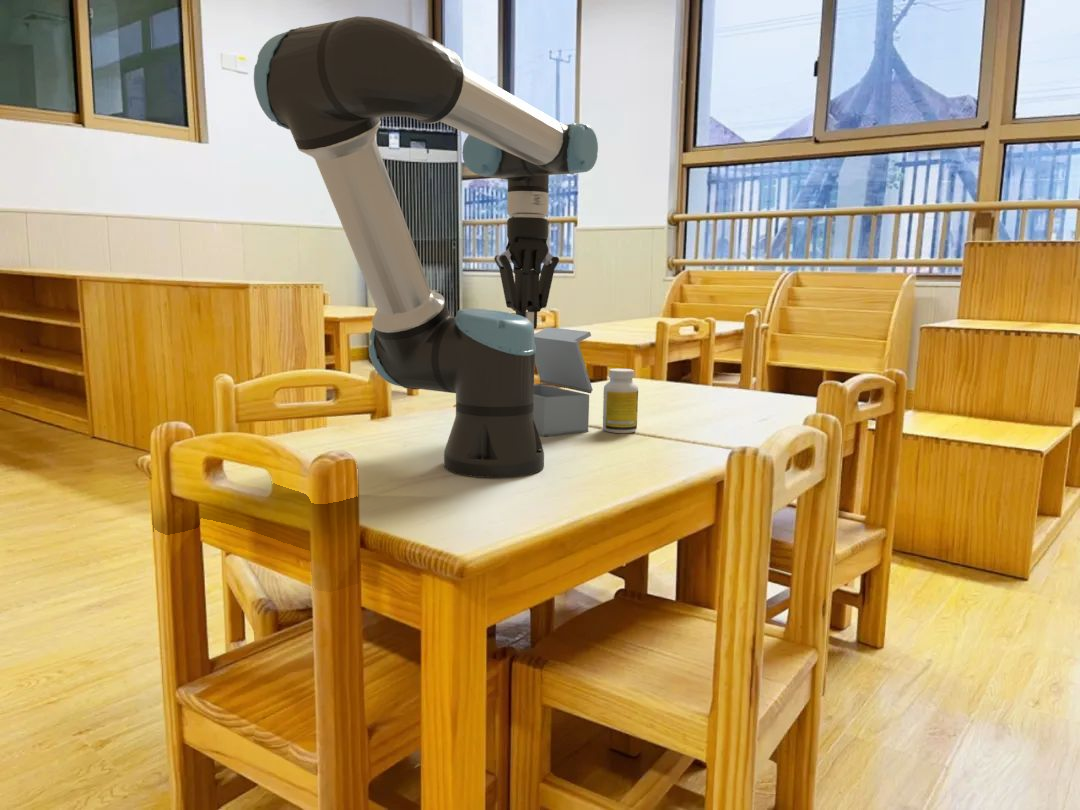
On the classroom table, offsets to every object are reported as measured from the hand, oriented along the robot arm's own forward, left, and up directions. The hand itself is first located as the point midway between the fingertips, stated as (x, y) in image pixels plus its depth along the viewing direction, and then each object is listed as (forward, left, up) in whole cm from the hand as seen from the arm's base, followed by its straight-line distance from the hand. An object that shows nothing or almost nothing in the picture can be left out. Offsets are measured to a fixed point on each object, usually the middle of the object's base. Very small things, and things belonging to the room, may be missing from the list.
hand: (526, 346), depth 151 cm
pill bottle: (+15, -10, -16) cm, 24 cm away
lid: (+7, 0, -4) cm, 8 cm away
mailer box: (+4, 0, -16) cm, 16 cm away
